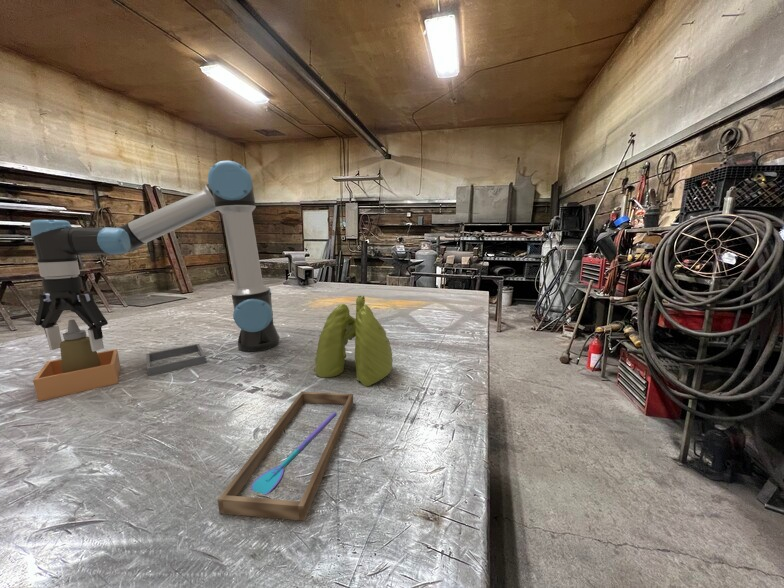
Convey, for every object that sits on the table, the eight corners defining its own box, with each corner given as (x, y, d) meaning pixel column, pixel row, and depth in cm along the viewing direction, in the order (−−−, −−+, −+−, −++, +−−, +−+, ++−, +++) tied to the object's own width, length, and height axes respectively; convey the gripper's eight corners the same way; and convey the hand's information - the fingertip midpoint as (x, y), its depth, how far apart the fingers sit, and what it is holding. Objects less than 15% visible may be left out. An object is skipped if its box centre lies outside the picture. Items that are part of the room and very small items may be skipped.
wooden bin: (120, 366, 101) (117, 349, 100) (117, 383, 89) (113, 364, 88) (51, 380, 91) (47, 361, 90) (38, 401, 79) (32, 380, 78)
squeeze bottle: (110, 372, 93) (98, 316, 90) (81, 385, 85) (67, 324, 82) (87, 371, 94) (75, 316, 91) (56, 384, 86) (41, 323, 83)
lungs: (400, 368, 98) (399, 294, 93) (379, 390, 83) (378, 305, 79) (334, 357, 107) (331, 290, 103) (306, 375, 93) (301, 298, 88)
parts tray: (199, 349, 115) (198, 343, 114) (206, 362, 103) (205, 355, 102) (147, 360, 105) (146, 353, 105) (148, 376, 93) (146, 368, 93)
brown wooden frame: (353, 403, 77) (353, 394, 77) (304, 520, 45) (303, 506, 45) (302, 400, 78) (301, 391, 78) (219, 513, 47) (217, 499, 46)
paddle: (265, 500, 49) (265, 494, 49) (245, 494, 50) (245, 488, 50) (339, 415, 72) (339, 411, 72) (324, 412, 74) (324, 408, 74)
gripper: (115, 275, 86) (128, 345, 90) (39, 275, 89) (54, 343, 93) (87, 279, 79) (102, 355, 83) (4, 278, 82) (23, 352, 86)
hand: (77, 349), depth 88 cm, fingers open, 13 cm apart
